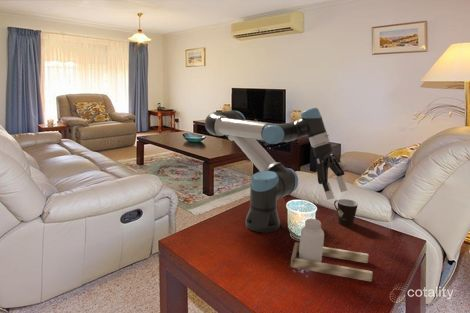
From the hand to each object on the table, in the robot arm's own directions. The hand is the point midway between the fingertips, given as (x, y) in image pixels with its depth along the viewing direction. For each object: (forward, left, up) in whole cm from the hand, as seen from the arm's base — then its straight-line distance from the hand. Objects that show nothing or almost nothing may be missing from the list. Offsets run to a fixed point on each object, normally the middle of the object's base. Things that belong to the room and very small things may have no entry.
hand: (337, 195), depth 126 cm
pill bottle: (-8, -23, -18) cm, 31 cm away
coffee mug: (+5, +16, -18) cm, 24 cm away
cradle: (-1, -23, -18) cm, 29 cm away
